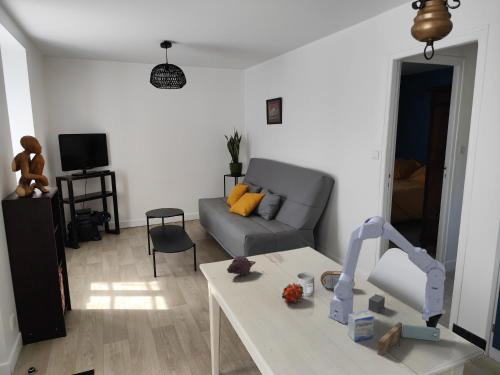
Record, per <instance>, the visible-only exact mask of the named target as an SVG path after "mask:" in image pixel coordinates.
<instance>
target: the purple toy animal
mask: <svg viewBox="0 0 500 375" xmlns="http://www.w3.org/2000/svg"><path fill="white" fill-rule="evenodd" d="M255 264H256V261H253V260H249V259H248V258H247V256H245V255H238V256H236V257H234V259H233V260H232V261H231V263H230V264H229V265H228V267H227V268H226V272H227V273H228V274H233V275H240V276H245V275H248V274H249V273H250V271H251V268H252V267H253V266H254V265H255Z"/></svg>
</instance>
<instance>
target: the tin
mask: <svg viewBox="0 0 500 375" xmlns="http://www.w3.org/2000/svg"><path fill="white" fill-rule="evenodd" d="M341 273H342V270H341V271H339V270H337V271H336V270H327V271H324V272H322V274H321V275H320V283H321V285H322V286H323V288H325V289H329V290H334V287H335V286H336V285H337V283H338V281H339V278H340V276H341Z"/></svg>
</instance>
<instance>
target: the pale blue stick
mask: <svg viewBox="0 0 500 375" xmlns="http://www.w3.org/2000/svg"><path fill="white" fill-rule="evenodd" d="M440 337H441V328H439V327H436V328H432V327H427V326H422V325H413V324H404V323H402V338H407V339H416V340H417V339H418V340H425V341H433V342H440V339H441V338H440Z"/></svg>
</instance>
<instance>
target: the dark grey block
mask: <svg viewBox="0 0 500 375" xmlns="http://www.w3.org/2000/svg"><path fill="white" fill-rule="evenodd" d="M385 298H386V297H385V296H382V295H380V294H376V293H375V294H374V295H372V296H371V297H370V298H368V308H367V309H368V310H369V311H371V312H373V313H375V314H379V313H380V312H381V311H382V310H384V309H385V301H386V300H385ZM368 310H367V311H368Z"/></svg>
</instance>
